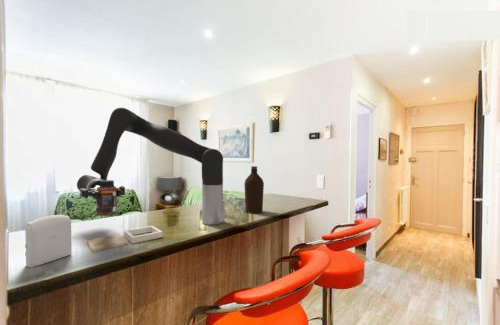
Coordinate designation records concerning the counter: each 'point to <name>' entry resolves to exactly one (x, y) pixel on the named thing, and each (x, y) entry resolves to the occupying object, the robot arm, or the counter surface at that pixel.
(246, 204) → the olive oil
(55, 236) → the photo printer
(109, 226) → the counter surface
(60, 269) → the counter surface
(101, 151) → the robot arm
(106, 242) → the pad
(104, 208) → the supplement bottle
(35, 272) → the counter surface
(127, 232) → the white square tray
